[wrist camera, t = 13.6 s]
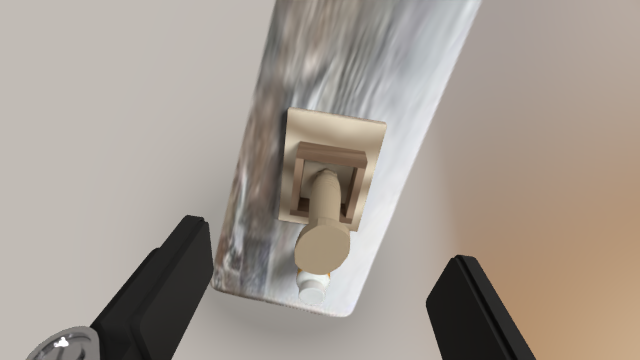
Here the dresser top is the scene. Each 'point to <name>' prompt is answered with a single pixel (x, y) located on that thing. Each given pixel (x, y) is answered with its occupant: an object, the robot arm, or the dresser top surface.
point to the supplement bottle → (312, 287)
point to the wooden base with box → (328, 161)
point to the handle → (323, 228)
